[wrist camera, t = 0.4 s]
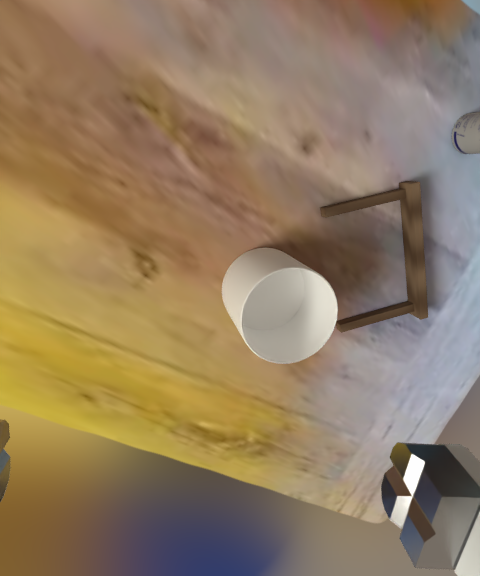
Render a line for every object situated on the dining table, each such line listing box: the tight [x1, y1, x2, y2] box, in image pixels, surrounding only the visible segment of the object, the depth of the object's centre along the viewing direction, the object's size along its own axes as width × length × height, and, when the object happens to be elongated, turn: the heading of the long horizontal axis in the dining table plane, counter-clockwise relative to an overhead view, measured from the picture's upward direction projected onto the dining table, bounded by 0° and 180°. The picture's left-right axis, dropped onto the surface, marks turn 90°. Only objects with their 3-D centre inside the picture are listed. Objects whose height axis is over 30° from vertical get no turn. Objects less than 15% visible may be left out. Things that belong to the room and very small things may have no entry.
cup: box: [222, 247, 338, 364], centre depth 53 cm, size 12×12×12 cm
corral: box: [320, 181, 428, 332], centre depth 60 cm, size 20×13×3 cm, turn 12°
